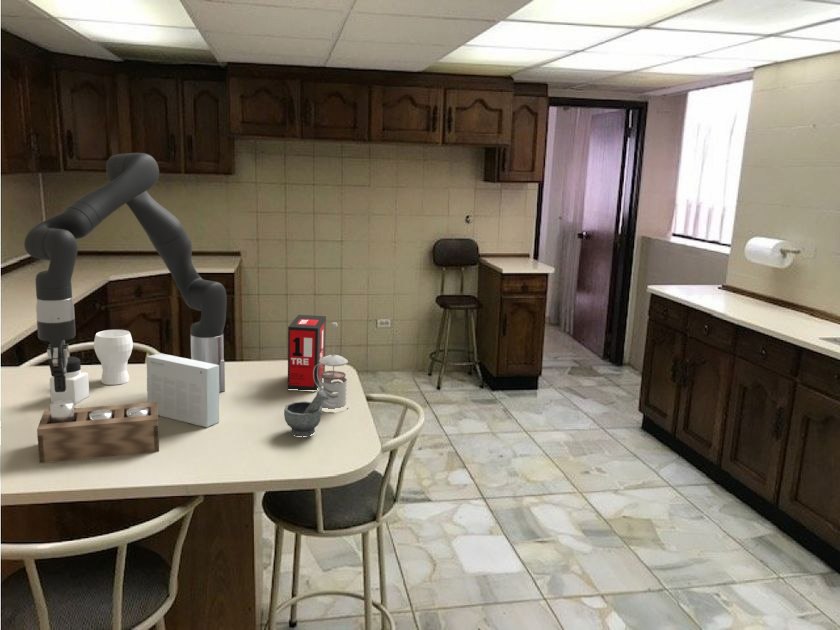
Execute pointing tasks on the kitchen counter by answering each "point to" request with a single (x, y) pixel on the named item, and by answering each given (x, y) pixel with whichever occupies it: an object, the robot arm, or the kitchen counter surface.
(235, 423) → the kitchen counter surface
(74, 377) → the medicine bottle
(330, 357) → the french press
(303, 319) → the cleaning product box
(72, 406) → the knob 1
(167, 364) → the skincare box
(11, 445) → the kitchen counter surface
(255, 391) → the kitchen counter surface
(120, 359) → the cup
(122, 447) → the wooden spice jar rack
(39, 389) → the kitchen counter surface
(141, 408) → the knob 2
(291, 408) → the mortar and pestle
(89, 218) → the robot arm
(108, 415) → the spice jar
